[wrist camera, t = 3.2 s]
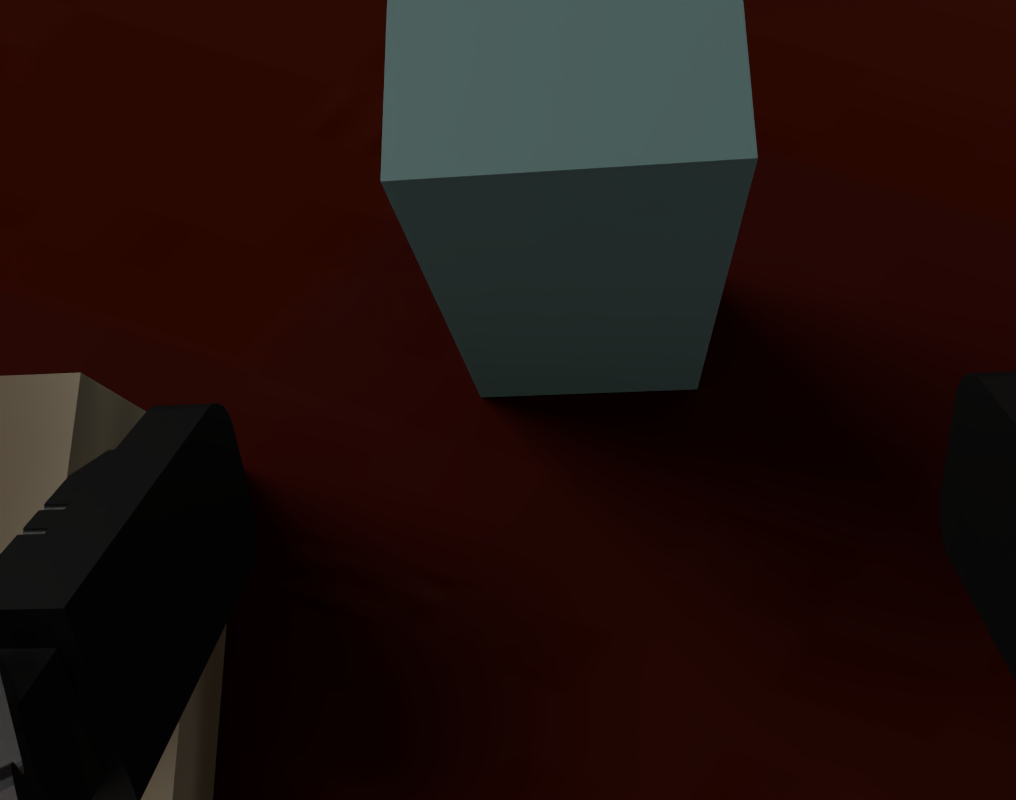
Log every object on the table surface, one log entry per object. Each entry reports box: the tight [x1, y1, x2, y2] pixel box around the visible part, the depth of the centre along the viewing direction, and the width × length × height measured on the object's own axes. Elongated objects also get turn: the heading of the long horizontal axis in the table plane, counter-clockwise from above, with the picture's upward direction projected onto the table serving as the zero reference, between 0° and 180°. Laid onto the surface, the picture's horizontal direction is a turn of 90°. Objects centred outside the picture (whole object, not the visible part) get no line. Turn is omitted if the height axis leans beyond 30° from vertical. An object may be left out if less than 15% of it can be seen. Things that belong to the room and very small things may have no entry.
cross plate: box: [381, 0, 758, 397], centre depth 18 cm, size 5×3×10 cm, turn 90°
